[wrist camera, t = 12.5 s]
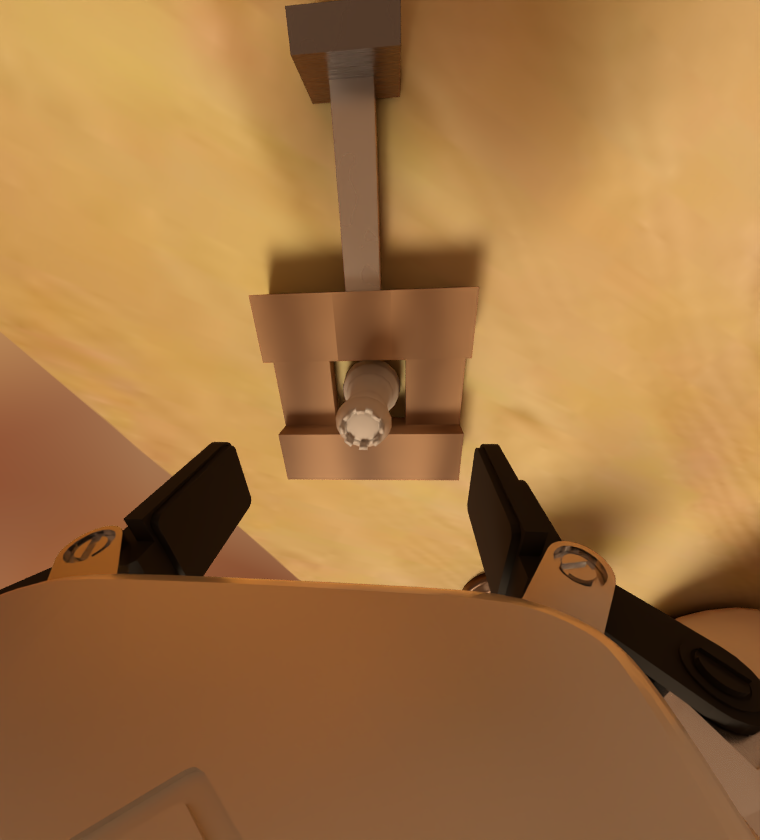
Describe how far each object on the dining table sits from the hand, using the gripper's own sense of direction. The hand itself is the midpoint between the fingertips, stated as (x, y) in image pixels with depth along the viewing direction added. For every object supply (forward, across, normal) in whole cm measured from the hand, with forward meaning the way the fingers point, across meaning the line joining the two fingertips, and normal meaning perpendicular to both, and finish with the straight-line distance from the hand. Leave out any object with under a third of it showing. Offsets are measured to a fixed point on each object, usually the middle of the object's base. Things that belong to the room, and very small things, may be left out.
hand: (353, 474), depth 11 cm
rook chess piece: (+13, 0, +1) cm, 13 cm away
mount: (+13, +1, +1) cm, 13 cm away
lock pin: (+13, +1, -11) cm, 17 cm away
